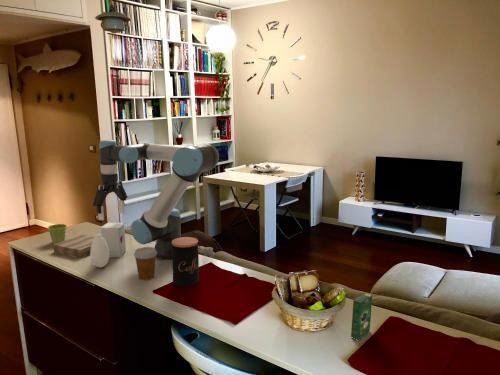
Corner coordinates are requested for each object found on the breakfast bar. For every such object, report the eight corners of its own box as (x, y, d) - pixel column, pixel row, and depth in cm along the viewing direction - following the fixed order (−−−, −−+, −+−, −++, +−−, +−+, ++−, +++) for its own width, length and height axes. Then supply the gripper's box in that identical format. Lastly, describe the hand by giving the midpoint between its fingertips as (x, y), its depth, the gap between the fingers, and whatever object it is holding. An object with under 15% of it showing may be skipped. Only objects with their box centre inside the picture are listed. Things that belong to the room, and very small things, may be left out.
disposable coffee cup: (162, 274, 180) (161, 248, 177) (150, 283, 171) (148, 255, 169) (143, 271, 183) (142, 245, 181) (130, 280, 174) (129, 252, 172)
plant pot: (63, 245, 217) (61, 229, 215) (45, 244, 217) (43, 228, 215) (71, 239, 226) (69, 224, 224) (53, 239, 226) (52, 223, 224)
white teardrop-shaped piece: (88, 267, 188) (85, 228, 184) (104, 262, 193) (102, 225, 190) (96, 271, 182) (94, 232, 179) (113, 266, 188) (110, 228, 185)
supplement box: (120, 257, 199) (118, 227, 196) (102, 257, 199) (100, 227, 196) (126, 251, 208) (124, 222, 205) (108, 251, 208) (106, 222, 205)
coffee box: (362, 328, 137) (364, 291, 135) (370, 331, 135) (373, 294, 133) (350, 338, 131) (352, 299, 129) (358, 341, 129) (360, 302, 127)
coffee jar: (177, 290, 165) (176, 246, 161) (169, 280, 174) (168, 239, 171) (202, 284, 170) (202, 242, 166) (193, 275, 179) (192, 235, 176)
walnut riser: (108, 246, 215) (107, 239, 214) (80, 258, 199) (79, 250, 198) (82, 241, 222) (81, 234, 221) (53, 252, 206) (53, 244, 205)
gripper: (121, 168, 208) (123, 209, 213) (82, 176, 186) (85, 221, 191) (133, 169, 205) (135, 211, 210) (95, 177, 183) (98, 224, 187)
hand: (111, 216), depth 200 cm, fingers open, 13 cm apart
